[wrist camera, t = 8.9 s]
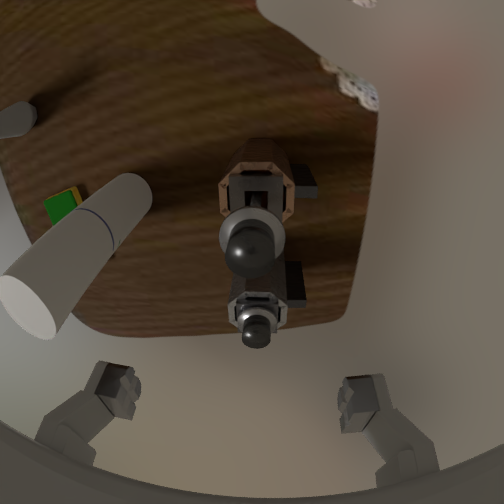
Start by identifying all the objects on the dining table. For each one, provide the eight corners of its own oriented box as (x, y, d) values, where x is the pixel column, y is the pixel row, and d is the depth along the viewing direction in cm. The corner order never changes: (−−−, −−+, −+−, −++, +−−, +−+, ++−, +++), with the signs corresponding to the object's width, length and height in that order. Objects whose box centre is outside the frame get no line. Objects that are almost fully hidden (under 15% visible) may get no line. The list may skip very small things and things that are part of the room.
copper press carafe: (233, 138, 35) (215, 164, 24) (305, 139, 34) (324, 166, 23) (235, 187, 38) (220, 235, 27) (303, 188, 38) (318, 236, 27)
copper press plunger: (234, 167, 27) (210, 224, 16) (280, 167, 27) (288, 225, 16) (235, 209, 29) (216, 286, 19) (279, 209, 29) (285, 287, 18)
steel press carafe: (237, 235, 42) (225, 295, 31) (300, 236, 42) (311, 297, 30) (239, 273, 46) (229, 337, 34) (297, 274, 45) (304, 338, 34)
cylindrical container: (154, 176, 38) (43, 288, 17) (151, 221, 42) (64, 349, 20) (110, 170, 38) (-12, 266, 16) (110, 213, 41) (11, 324, 20)
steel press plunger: (243, 258, 39) (234, 324, 29) (276, 258, 39) (278, 325, 29) (244, 283, 42) (236, 351, 31) (275, 284, 41) (276, 352, 31)
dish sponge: (81, 262, 47) (75, 270, 45) (50, 196, 40) (42, 201, 38) (109, 257, 46) (103, 264, 44) (77, 184, 39) (69, 189, 37)
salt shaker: (24, 94, 30) (-33, 110, 19) (44, 105, 32) (-15, 122, 21) (16, 126, 33) (-38, 148, 22) (35, 137, 34) (-21, 162, 23)
